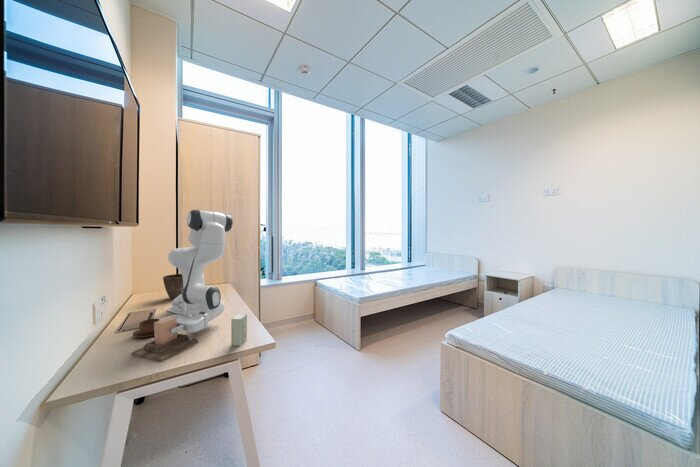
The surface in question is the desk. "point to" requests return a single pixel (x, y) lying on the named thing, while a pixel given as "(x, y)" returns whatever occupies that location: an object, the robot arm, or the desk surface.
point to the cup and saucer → (145, 328)
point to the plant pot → (173, 285)
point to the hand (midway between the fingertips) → (164, 330)
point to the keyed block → (165, 330)
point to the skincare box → (238, 329)
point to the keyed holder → (165, 348)
